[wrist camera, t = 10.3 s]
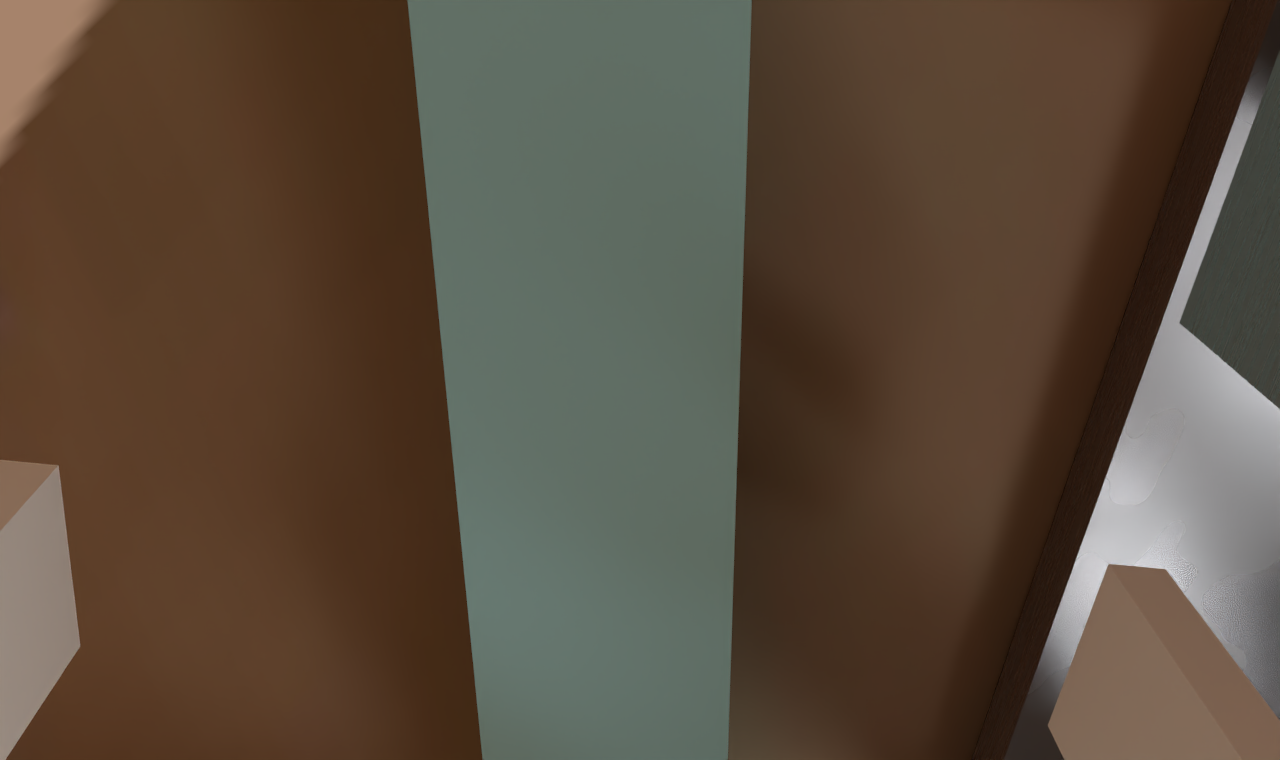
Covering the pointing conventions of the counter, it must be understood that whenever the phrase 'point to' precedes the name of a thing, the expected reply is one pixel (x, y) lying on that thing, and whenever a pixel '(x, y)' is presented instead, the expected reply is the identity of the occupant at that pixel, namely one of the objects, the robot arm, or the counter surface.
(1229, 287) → the rack
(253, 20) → the counter surface
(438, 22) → the block
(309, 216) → the counter surface
